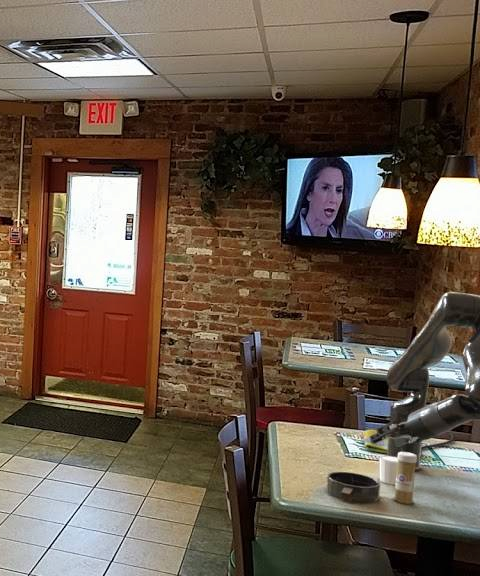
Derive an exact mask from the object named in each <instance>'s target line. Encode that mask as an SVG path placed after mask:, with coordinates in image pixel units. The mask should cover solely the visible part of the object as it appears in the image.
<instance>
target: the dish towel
mask: <svg viewBox="0 0 480 576" xmlns="http://www.w3.org/2000/svg"><path fill="white" fill-rule="evenodd" d="M376 433H377V430H376V429H367V430H365V431H364V433H363V444H364V447H365V448H366V449H367V450H369V451H373V452H377V453H382V454H387V448H388V439H385V440H382V441H380V442H378V443H376V444H373V443H371V440H370V436H371V435H373V434H376Z"/></svg>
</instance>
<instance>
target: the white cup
mask: <svg viewBox="0 0 480 576" xmlns="http://www.w3.org/2000/svg"><path fill="white" fill-rule="evenodd" d="M397 458H398V457H394V456H386V455H379V460H378V461H379V482H380V483H384V484H388V485H392V486H393V485H394V486H395V485H396V476H397V467H398V459H397Z"/></svg>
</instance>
